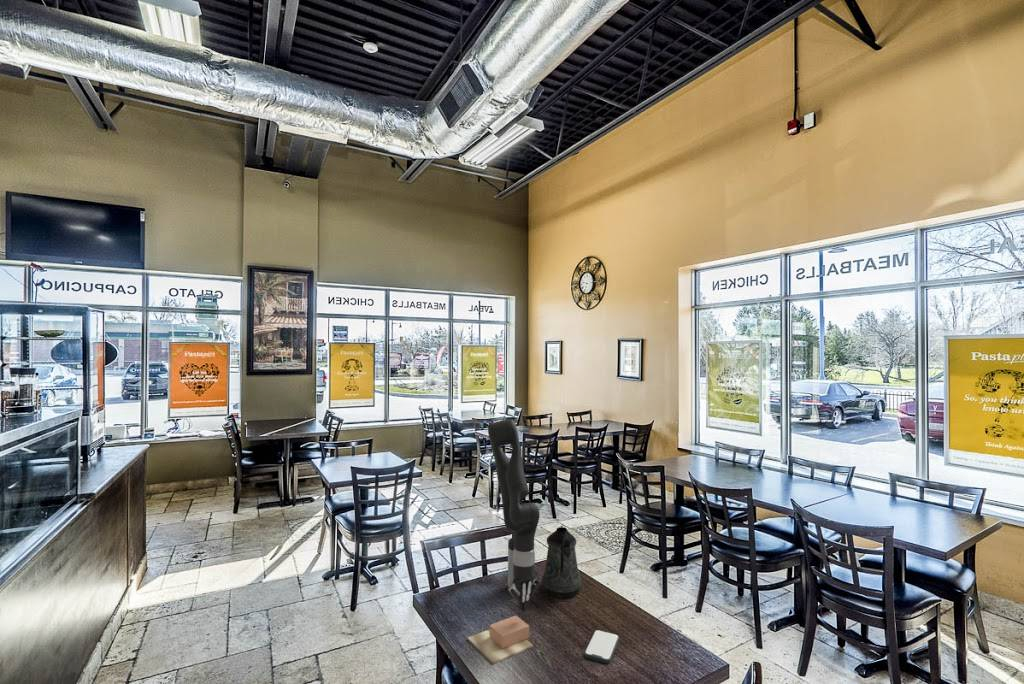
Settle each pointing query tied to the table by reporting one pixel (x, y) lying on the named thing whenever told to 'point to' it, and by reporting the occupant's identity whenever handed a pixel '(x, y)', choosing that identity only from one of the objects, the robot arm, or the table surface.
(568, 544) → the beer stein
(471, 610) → the table surface
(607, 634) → the phone case
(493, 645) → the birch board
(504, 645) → the salmon pink block
